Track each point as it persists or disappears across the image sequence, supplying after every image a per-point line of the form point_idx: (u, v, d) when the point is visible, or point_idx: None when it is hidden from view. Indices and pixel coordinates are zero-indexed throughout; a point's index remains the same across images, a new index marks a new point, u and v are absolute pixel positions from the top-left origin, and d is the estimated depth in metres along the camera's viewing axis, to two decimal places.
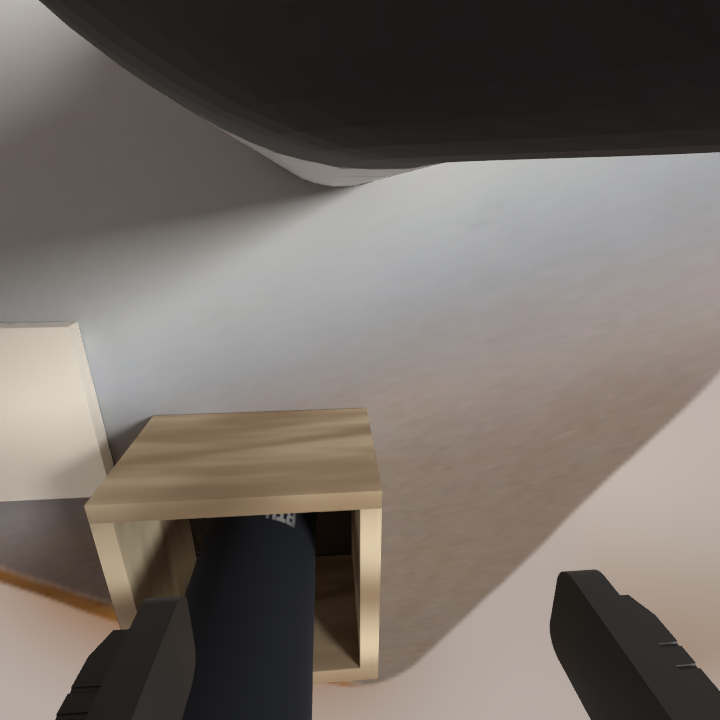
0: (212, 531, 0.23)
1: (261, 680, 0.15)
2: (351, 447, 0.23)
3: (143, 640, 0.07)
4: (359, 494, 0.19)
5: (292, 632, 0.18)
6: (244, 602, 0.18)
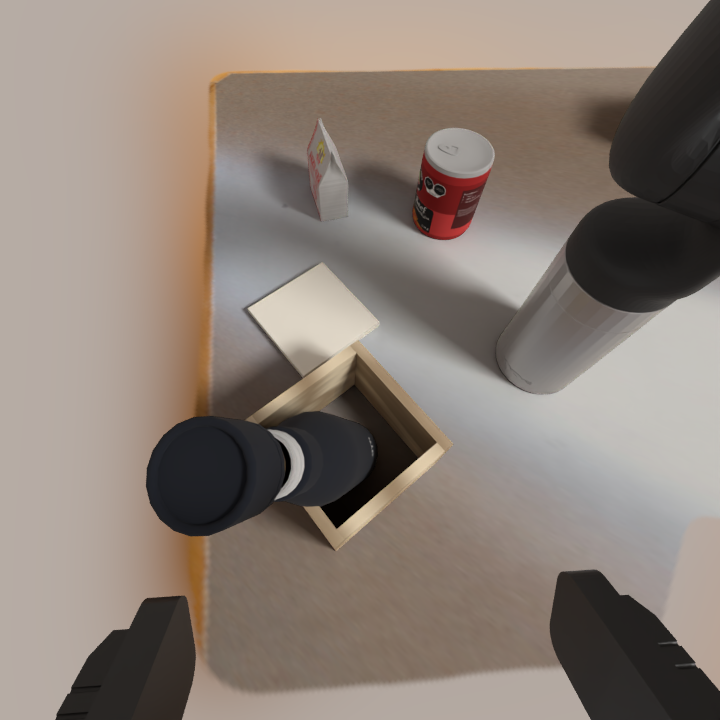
0: None
1: (359, 448, 0.30)
2: None
3: (143, 640, 0.07)
4: (443, 436, 0.37)
5: (363, 463, 0.32)
6: (359, 433, 0.33)
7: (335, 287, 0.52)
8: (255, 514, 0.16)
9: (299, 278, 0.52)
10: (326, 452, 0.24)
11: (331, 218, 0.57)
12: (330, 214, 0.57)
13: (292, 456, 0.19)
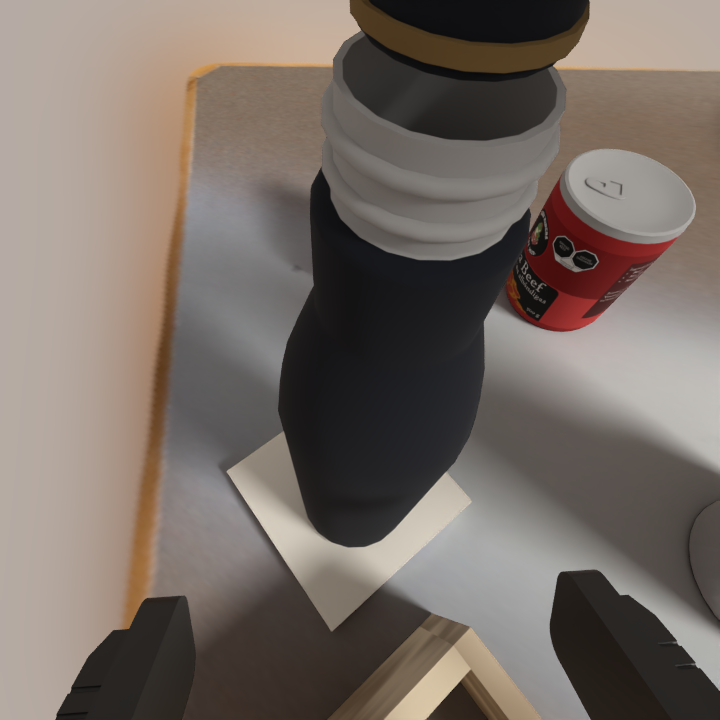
0: None
1: None
2: None
3: (143, 640, 0.07)
4: None
5: None
6: None
7: None
8: None
9: None
10: None
11: None
12: None
13: None
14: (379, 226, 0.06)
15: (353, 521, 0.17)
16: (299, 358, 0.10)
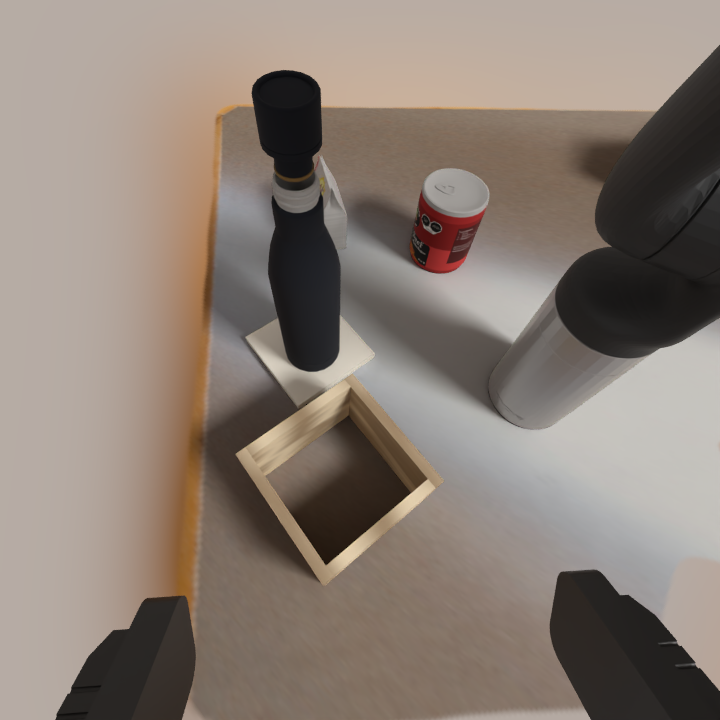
0: None
1: None
2: None
3: (143, 640, 0.07)
4: (434, 472, 0.37)
5: (339, 297, 0.40)
6: None
7: None
8: (305, 147, 0.25)
9: None
10: (325, 227, 0.34)
11: None
12: None
13: None
14: (283, 205, 0.29)
15: (300, 329, 0.41)
16: (272, 246, 0.34)
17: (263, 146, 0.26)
